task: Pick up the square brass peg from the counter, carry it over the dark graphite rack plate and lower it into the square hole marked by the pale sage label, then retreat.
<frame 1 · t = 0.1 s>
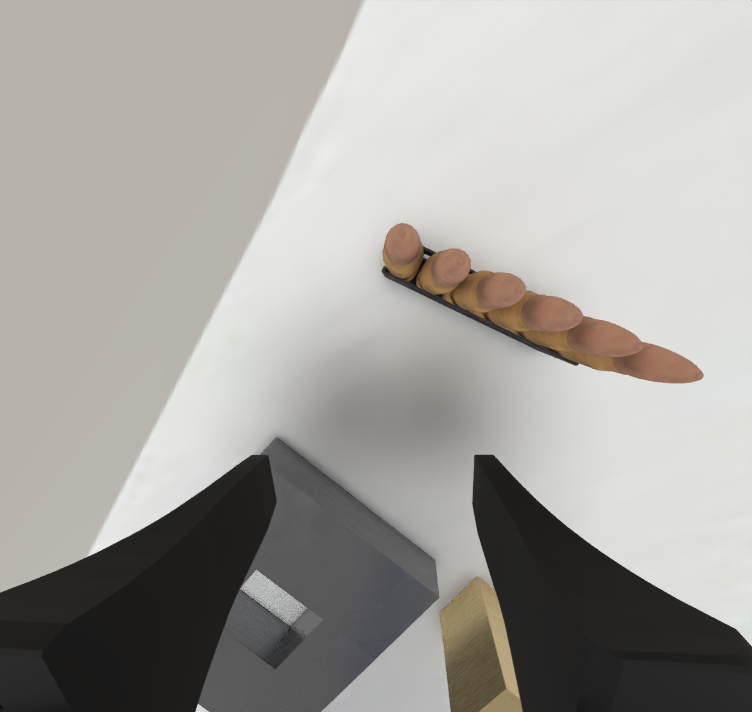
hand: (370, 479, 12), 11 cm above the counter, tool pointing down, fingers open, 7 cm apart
brass peg: (480, 611, 25), on the counter
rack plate: (282, 583, 25), on the counter
ammunition clip: (468, 299, 21), on the counter
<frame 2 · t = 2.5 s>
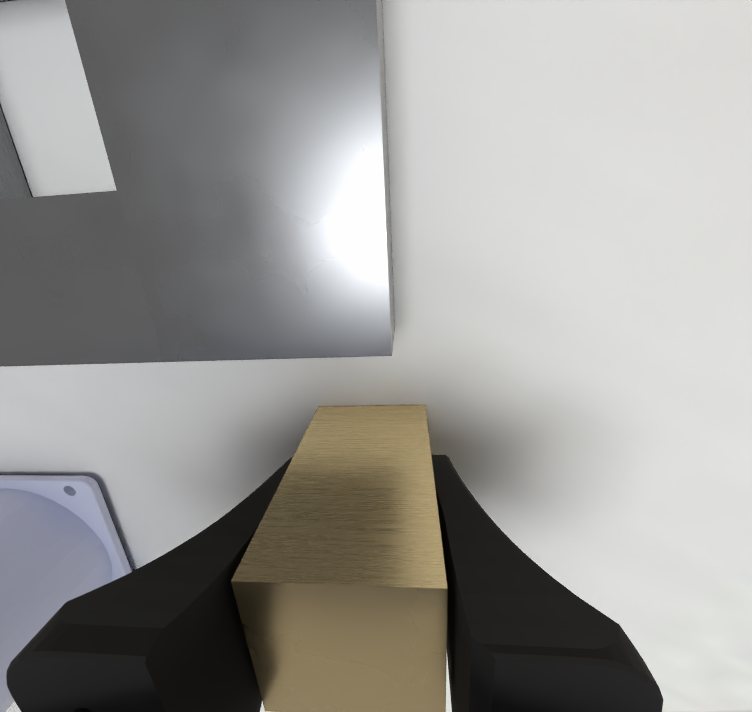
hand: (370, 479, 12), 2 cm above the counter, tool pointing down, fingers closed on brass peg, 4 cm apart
brass peg: (374, 451, 14), on the counter, touching gripper
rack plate: (85, 110, 10), on the counter
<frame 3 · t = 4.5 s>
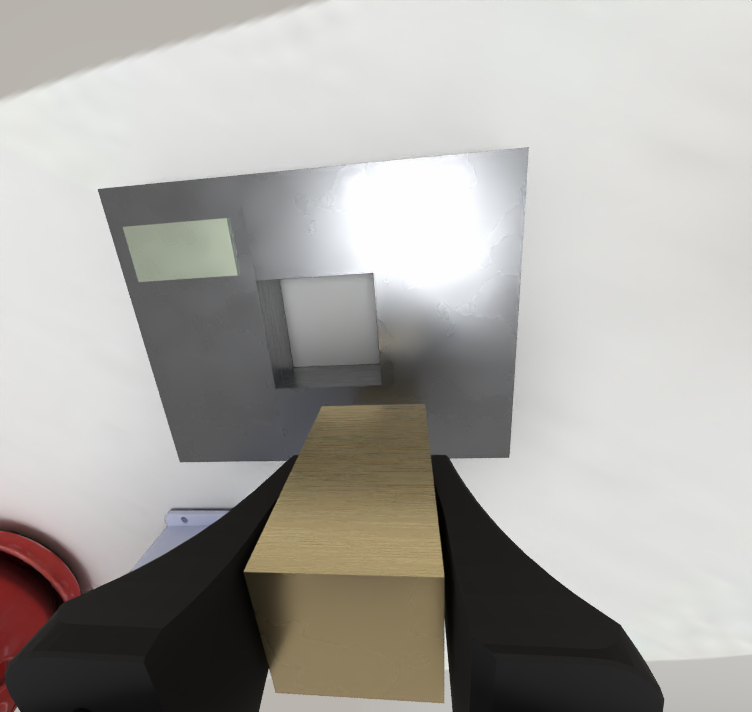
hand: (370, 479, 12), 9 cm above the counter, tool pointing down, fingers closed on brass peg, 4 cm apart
brass peg: (376, 449, 14), point 7 cm above the counter, touching gripper
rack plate: (333, 320, 19), on the counter
plant pot: (28, 573, 29), on the counter
when the fingers open (4 cm above the counter, at t = 6.2 s): brass peg drops 2 cm, resting in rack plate.
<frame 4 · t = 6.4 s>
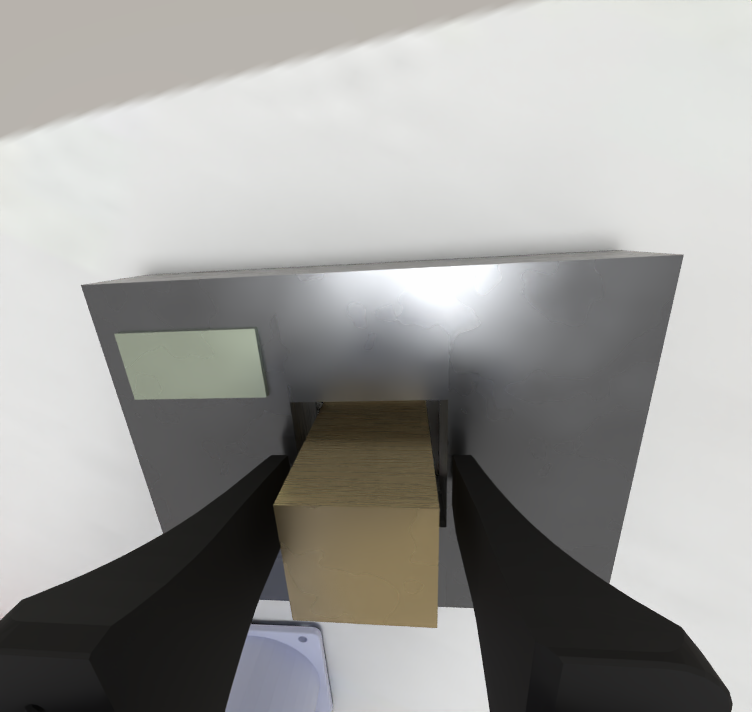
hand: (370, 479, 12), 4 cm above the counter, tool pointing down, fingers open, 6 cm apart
brass peg: (378, 428, 15), resting in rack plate
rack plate: (377, 425, 15), on the counter
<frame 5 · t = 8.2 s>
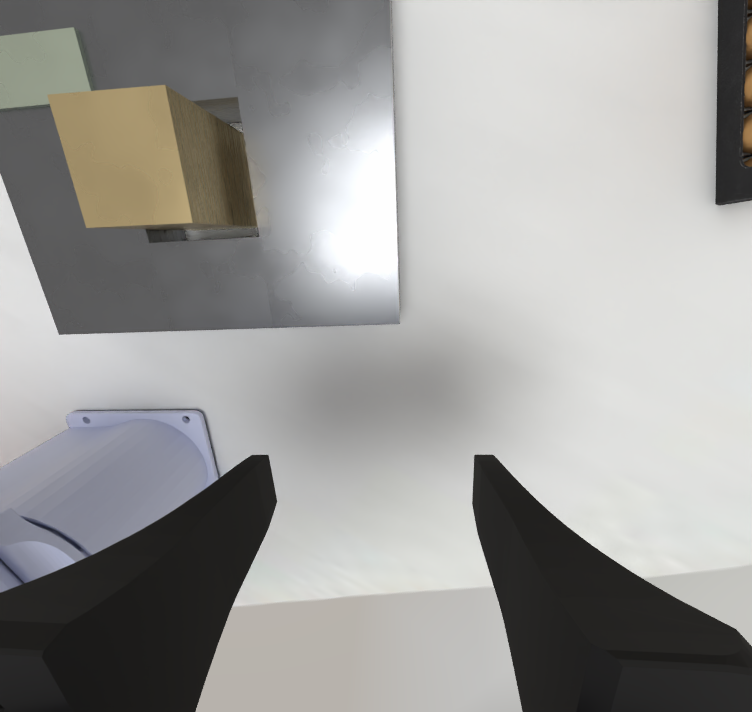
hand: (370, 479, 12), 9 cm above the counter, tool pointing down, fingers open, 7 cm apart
brass peg: (225, 188, 18), resting in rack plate
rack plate: (223, 184, 18), on the counter
ammunition clip: (736, 72, 15), on the counter
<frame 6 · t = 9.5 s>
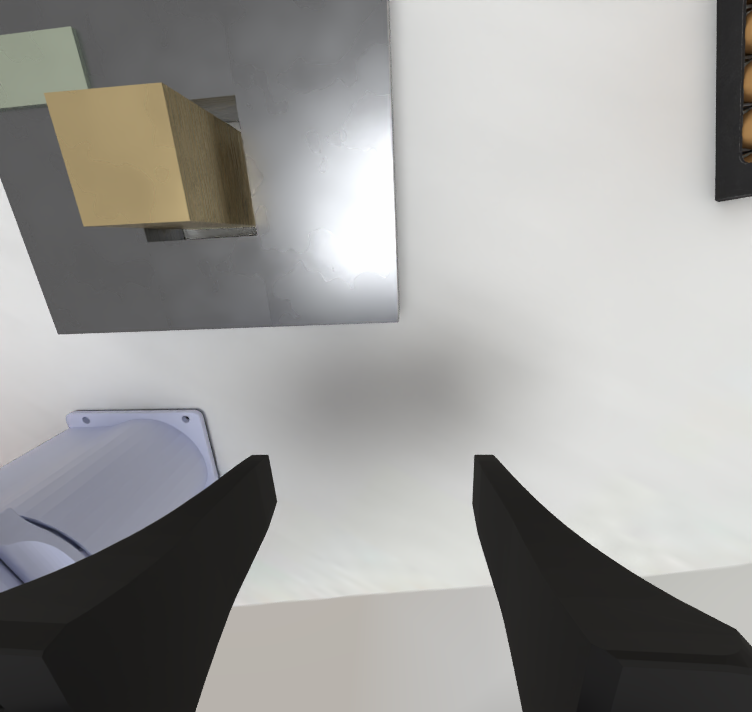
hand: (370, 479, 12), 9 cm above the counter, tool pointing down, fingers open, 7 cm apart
brass peg: (223, 187, 18), resting in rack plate
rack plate: (221, 183, 18), on the counter
ammunition clip: (735, 68, 15), on the counter
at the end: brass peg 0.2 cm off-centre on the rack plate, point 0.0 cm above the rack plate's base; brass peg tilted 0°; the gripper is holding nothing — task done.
